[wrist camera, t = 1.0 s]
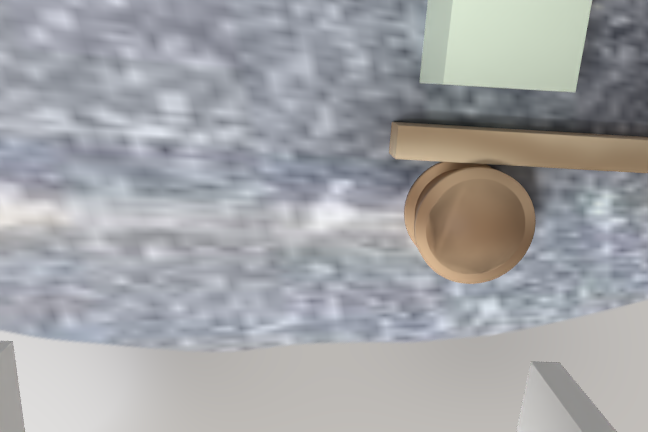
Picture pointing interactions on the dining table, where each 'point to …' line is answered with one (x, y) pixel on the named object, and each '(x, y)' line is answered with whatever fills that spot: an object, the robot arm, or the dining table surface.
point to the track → (518, 147)
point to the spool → (469, 221)
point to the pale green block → (505, 43)
